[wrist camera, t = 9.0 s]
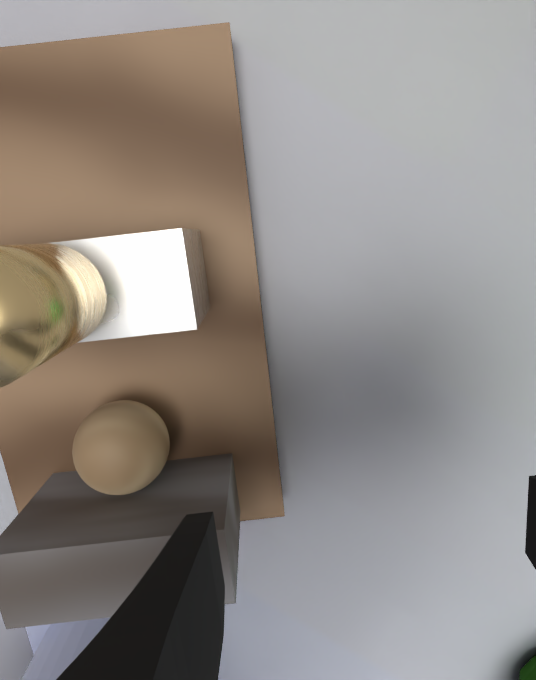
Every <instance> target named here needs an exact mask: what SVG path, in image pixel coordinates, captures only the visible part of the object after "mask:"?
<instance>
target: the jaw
mask: <svg viewBox="0 0 536 680" xmlns="http://www.w3.org/2000/svg"><path fill="white" fill-rule="evenodd" d="M209 309H210V301H209V294H208V287H207V280H206V273H205V266H204V259H203V252H202V244H201V237H200V230H197V229H184V228H180V229H171V230H162V231H153V232H144V233H135V234H126V235H117V236H108V237H98V238H89V239H80V240H71V241H62V242H53V243H44V244H23V245H1V246H0V388H1V387H4V386H6V385H8V384H10V383H12V382H14V381H15V380H17V379H18V378H20V377H22V376H23V375H25V374H27V373H28V372H30V371H32V370H33V369H35V368H36V367H38V366H40V365H41V364H43V363H45V362H46V361H48V360H50V359H51V358H53V357H55V356H56V355H58V354H59V353H61V352H63V351H64V350H66V349H68V348H69V347H71V346H73V345H74V344H76V343H79V342H88V341H97V340H106V339H115V338H124V337H134V336H143V335H152V334H161V333H170V332H179V331H188V330H197V329H198V327H199V325H200V324H201V322H202V320H203V319H204V317H205V316H206V314H207V312H208V311H209Z"/></svg>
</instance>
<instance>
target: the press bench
mask: <svg viewBox="0 0 536 680" xmlns="http://www.w3.org/2000/svg"><path fill="white" fill-rule="evenodd" d="M180 228H184V229H197V230H200V237H201V244H202V252H203V259H204V266H205V273H206V280H207V287H208V294H209V301H210V309H209V311H208V312H207V314H206V316H205V317H204V319H203V320H202V322H201V324H200V325H199V327H198V329H197V330H188V331H179V332H170V333H161V334H152V335H143V336H134V337H124V338H115V339H106V340H97V341H88V342H79V343H76V344H74V345H73V346H71V347H69V348H68V349H66V350H64V351H63V352H61V353H59V354H58V355H56V356H55V357H53V358H51V359H50V360H48V361H46V362H45V363H43V364H41V365H40V366H38V367H36V368H35V369H33V370H32V371H30V372H28V373H27V374H25V375H23V376H22V377H20V378H18V379H17V380H15V381H14V382H12V383H10V384H8V385H6V386H4V387H1V388H0V452H1V455H2V458H3V462H4V465H5V469H6V472H7V476H8V479H9V483H10V486H11V489H12V493H13V496H14V500H15V503H16V507H17V510H18V515H17V517H16V518H15V519H14V520H13V521H12V523H11V524H10V525H9V526H8V527H7V528H6V530H5V531H4V532H3V533H2V534H1V536H0V611H1V614H2V617H3V621H4V624H5V627H6V629H11V628H20V627H29V626H38V625H47V624H56V623H64V622H73V621H82V620H91V619H100V618H109V617H112V615H113V614H114V613H115V612H116V610H117V609H118V608H119V607H120V605H121V604H122V603H123V602H124V600H125V599H126V598H127V597H128V595H129V594H130V593H131V592H132V590H133V589H134V588H135V586H136V585H137V584H138V582H139V581H140V579H141V578H142V577H143V575H144V574H145V573H146V571H147V570H148V568H149V567H150V566H151V564H152V563H153V562H154V560H155V559H156V557H157V556H158V554H159V553H160V552H161V550H162V549H163V547H164V546H165V544H166V543H167V541H168V540H169V538H170V537H171V535H172V534H173V532H174V531H175V529H176V528H177V526H178V525H179V524H180V522H181V521H182V519H183V518H184V517H185V516H186V514H195V513H204V512H213V514H214V520H215V526H216V533H217V539H218V545H219V551H220V558H221V564H222V570H223V577H224V583H225V604H234V603H236V587H237V568H238V549H239V530H240V521H246V520H255V519H264V518H273V517H282V516H285V515H284V506H283V496H282V487H281V478H280V469H279V460H278V452H277V443H276V434H275V425H274V416H273V407H272V398H271V389H270V380H269V371H268V362H267V353H266V344H265V335H264V326H263V317H262V309H261V300H260V291H259V282H258V273H257V264H256V255H255V246H254V237H253V228H252V219H251V210H250V201H249V192H248V183H247V174H246V165H245V157H244V148H243V139H242V130H241V121H240V112H239V103H238V94H237V85H236V76H235V67H234V58H233V49H232V40H231V32H230V24H229V23H220V24H210V25H201V26H192V27H183V28H174V29H164V30H155V31H146V32H137V33H128V34H118V35H109V36H100V37H91V38H82V39H72V40H63V41H54V42H45V43H36V44H26V45H17V46H8V47H0V246H1V245H23V244H44V243H53V242H62V241H71V240H80V239H89V238H98V237H108V236H117V235H126V234H135V233H144V232H153V231H162V230H171V229H180Z"/></svg>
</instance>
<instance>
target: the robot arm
mask: <svg viewBox="0 0 536 680" xmlns="http://www.w3.org/2000/svg"><path fill="white" fill-rule="evenodd" d="M525 553H526V555H527V556H528V558H529V559H530V561H531V563H532V564H533V566H534V568H535V569H536V475H535V476H529V489H528V509H527V529H526V548H525ZM224 606H225V583H224V577H223V570H222V564H221V558H220V551H219V545H218V539H217V533H216V526H215V520H214V514H213V512H204V513H195V514H186V516H185V517H184V518H183V519H182V521H181V522H180V524H179V525H178V526H177V528H176V529H175V531H174V532H173V534H172V535H171V537H170V538H169V540H168V541H167V543H166V544H165V546H164V547H163V549H162V550H161V552H160V553H159V554H158V556H157V557H156V559H155V560H154V562H153V563H152V564H151V566H150V567H149V568H148V570H147V571H146V573H145V574H144V575H143V577H142V578H141V579H140V581H139V582H138V584H137V585H136V586H135V588H134V589H133V590H132V592H131V593H130V594H129V595H128V597H127V598H126V599H125V600H124V602H123V603H122V604H121V605H120V607H119V608H118V609H117V610H116V612H115V613H114V614H113V615H112V617H109V618H100V619H91V620H82V621H73V622H64V623H56V624H47V625H38V626H29V627H25V629H26V632H27V635H28V638H29V641H30V645H31V648H32V651H33V654H34V656H33V658H32V660H31V662H30V664H29V665H28V667H27V669H26V671H25V673H24V675H23V677H22V679H21V680H218V673H219V666H220V658H221V651H222V643H223V634H224Z"/></svg>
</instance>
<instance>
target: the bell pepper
mask: <svg viewBox="0 0 536 680" xmlns="http://www.w3.org/2000/svg"><path fill="white" fill-rule="evenodd" d="M519 680H536V656H534V657H533V658H532V659H531V660H530V661H529V662H528V663H527V664H526V665H525V666H524V667H523V668H522V669H521V670H520V676H519Z"/></svg>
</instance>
